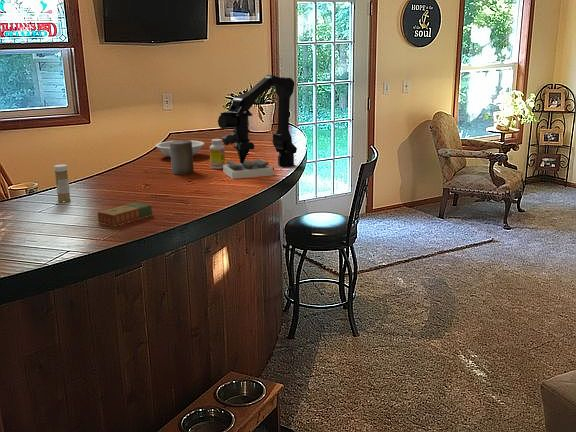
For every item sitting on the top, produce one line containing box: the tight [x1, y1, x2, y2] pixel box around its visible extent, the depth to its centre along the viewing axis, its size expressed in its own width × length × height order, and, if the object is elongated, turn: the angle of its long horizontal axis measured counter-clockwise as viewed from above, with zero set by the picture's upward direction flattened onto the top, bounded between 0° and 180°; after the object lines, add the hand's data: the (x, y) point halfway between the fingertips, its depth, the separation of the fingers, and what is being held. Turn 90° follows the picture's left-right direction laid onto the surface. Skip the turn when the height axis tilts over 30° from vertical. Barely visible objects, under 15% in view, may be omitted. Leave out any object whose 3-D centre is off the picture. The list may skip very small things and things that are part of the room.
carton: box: [97, 202, 153, 226], centre depth 209 cm, size 8×16×4 cm, turn 144°
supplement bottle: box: [209, 138, 226, 170], centre depth 288 cm, size 7×7×13 cm
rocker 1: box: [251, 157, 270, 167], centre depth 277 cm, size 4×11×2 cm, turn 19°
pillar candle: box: [170, 139, 195, 176], centre depth 279 cm, size 10×10×15 cm
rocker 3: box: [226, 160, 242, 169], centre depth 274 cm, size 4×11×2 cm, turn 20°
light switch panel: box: [222, 163, 275, 180], centre depth 277 cm, size 21×16×3 cm
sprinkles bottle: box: [53, 164, 71, 203], centre depth 233 cm, size 5×5×13 cm
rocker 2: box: [240, 159, 256, 168], centre depth 276 cm, size 4×11×2 cm, turn 19°
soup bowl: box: [155, 139, 205, 158], centre depth 317 cm, size 24×24×7 cm
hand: (241, 163), depth 274 cm, fingers closed, pressing on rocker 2
